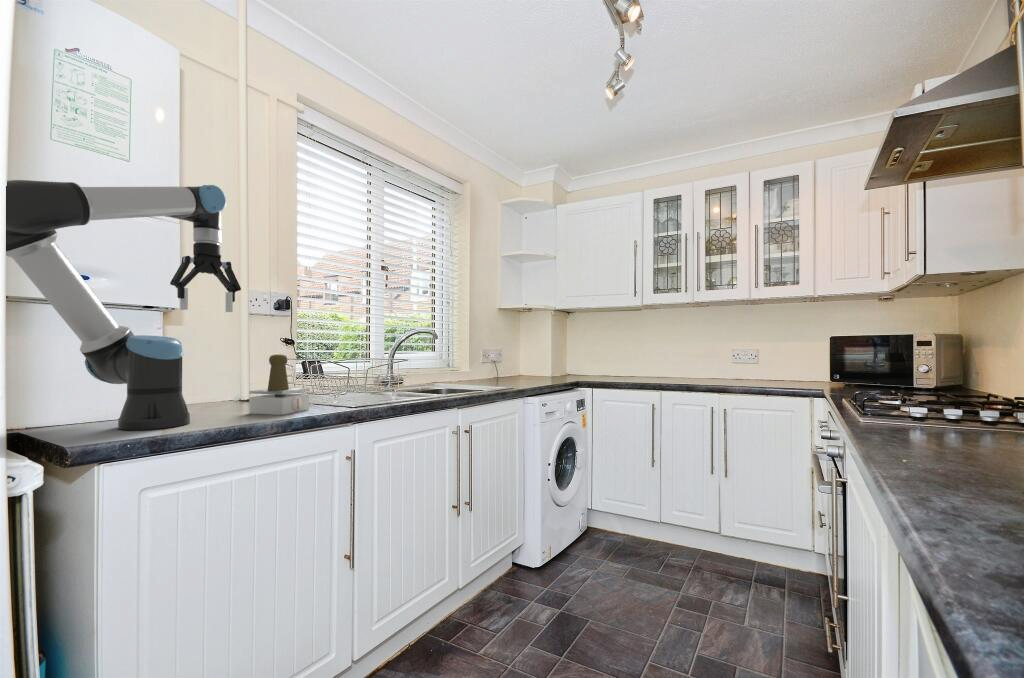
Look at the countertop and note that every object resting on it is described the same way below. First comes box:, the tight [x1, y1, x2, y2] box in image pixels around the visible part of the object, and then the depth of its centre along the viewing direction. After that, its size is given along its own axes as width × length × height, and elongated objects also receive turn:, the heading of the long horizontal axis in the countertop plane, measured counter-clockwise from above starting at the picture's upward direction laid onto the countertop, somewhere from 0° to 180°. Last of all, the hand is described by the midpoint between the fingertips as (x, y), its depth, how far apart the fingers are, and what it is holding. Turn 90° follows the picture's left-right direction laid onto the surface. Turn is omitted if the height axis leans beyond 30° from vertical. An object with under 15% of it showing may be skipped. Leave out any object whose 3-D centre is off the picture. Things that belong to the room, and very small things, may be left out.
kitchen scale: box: [248, 393, 310, 416], centre depth 152 cm, size 12×13×6 cm
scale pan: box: [248, 387, 310, 395], centre depth 153 cm, size 12×12×1 cm
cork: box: [267, 353, 290, 391], centre depth 152 cm, size 6×6×11 cm
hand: (207, 311), depth 154 cm, fingers open, 13 cm apart
